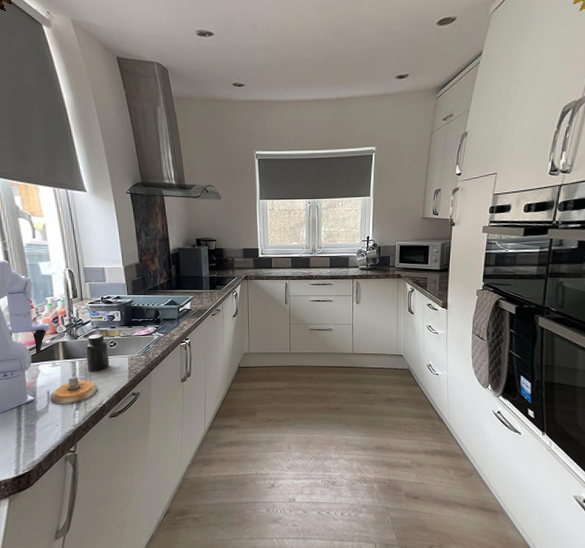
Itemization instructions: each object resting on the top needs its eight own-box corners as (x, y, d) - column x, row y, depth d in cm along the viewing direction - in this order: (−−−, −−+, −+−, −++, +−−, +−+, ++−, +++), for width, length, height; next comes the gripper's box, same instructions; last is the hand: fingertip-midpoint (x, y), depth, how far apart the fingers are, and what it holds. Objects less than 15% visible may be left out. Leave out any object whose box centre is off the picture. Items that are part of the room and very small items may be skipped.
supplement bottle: (104, 362, 130) (102, 331, 128) (112, 367, 125) (110, 335, 124) (84, 368, 124) (81, 336, 123) (92, 373, 120) (89, 340, 118)
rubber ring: (66, 401, 100) (66, 399, 99) (48, 393, 104) (48, 390, 104) (98, 388, 108) (98, 385, 108) (81, 380, 112) (80, 378, 112)
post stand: (64, 408, 98) (63, 391, 97) (42, 397, 104) (41, 381, 103) (105, 390, 108) (104, 375, 108) (82, 381, 114) (81, 367, 113)
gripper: (50, 308, 117) (54, 346, 119) (-3, 311, 112) (2, 351, 114) (44, 313, 110) (48, 354, 112) (-13, 317, 105) (-8, 359, 107)
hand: (24, 353), depth 113 cm, fingers open, 7 cm apart
